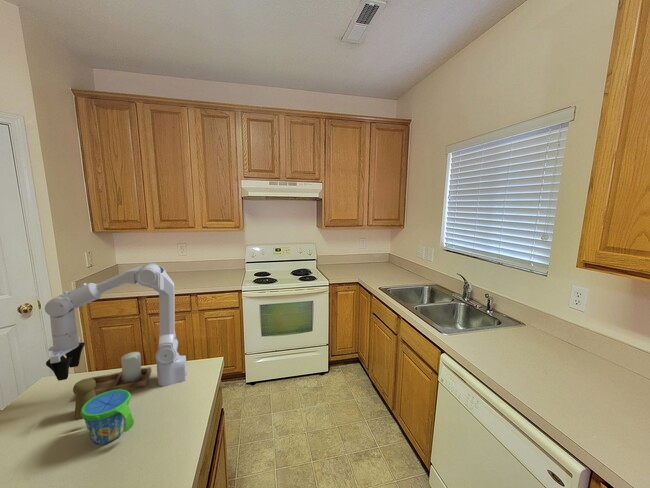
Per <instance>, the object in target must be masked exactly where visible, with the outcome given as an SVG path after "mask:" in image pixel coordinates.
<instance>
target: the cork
mask: <svg viewBox="0 0 650 488" xmlns="http://www.w3.org/2000/svg"><path fill="white" fill-rule="evenodd" d="M95 386H96V381H95V380H94V379H93V378H91V377H88V378H87V377H86V378H83V379H81V380H79V381H77V382H76V383H75V384H74V385H73V388H72V392H73V394H74V396H75V403H74V404H75V406H74V415H73V416H74V419H75V420H84V419H83V417H82V416H81V413H80V412H81V410H82V407H83V406H84V404H85V403H86V402H88V401H89V400H90V399H92V398H94V397H95V396H96V394H95V391H94V388H95Z"/></svg>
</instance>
